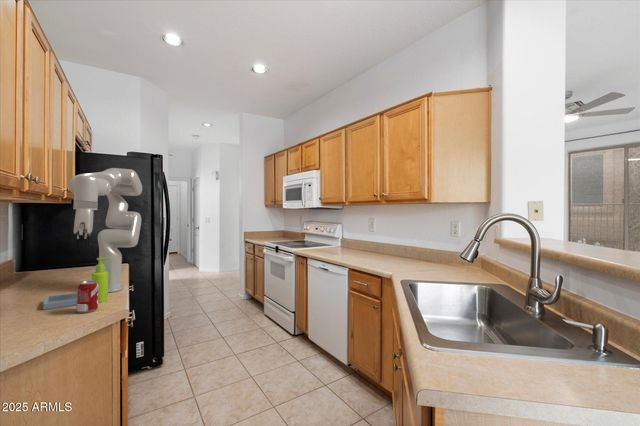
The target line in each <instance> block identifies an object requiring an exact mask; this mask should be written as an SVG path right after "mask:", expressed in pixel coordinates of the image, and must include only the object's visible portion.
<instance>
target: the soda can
mask: <svg viewBox="0 0 640 426" xmlns="http://www.w3.org/2000/svg"><path fill="white" fill-rule="evenodd" d="M76 289H77V290H76V291H77V292H76V293H77V306H76V312H77V313H80V314H89V313H92V312H95V311H96V310H97V309H99V304H98V292H99V285H98V284H97V281H95V280H92V279H91V280H84V281H80V282H79V285H78V286H77V288H76Z"/></svg>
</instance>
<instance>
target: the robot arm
mask: <svg viewBox="0 0 640 426" xmlns="http://www.w3.org/2000/svg"><path fill="white" fill-rule="evenodd" d="M67 187H68V190H69V192H70V193H71V194H73V210H75V214H74V215H75V217H74V222H73V223H74V224H73V225H74V226H73V233H74V235H77V236H76V240H75V241H76V242H75V249H76V250H87V249H88V248H90V247H91V245H92V243H91V242H92V237H91V233H92V232H93V228H94V226H93V225H94V214H95V213H94V211H98V199H99V197H101V196H107V197H106V198H107V200H108V203H109V204H108V209H107V214H106V218H105V226H106V227H108V228H105V229H103V230H100V232H99V233H98V235H97V243H98V248H99V251H98V252H99V253H98V255H99V256H98V258H102V257H108V258H112V259H111V260H110V259H103V264H104V265H105V272H108V292H107V293H113V292H119V291H122V290H124V289H125V285H123V284H122V266H123V265H122V262H123V257H122V256H123V255H122V253H121V251H120V250H119V249H118V248H133V247H136V246H137V245H138V242H139V238H140V233H141V232H140V231H141V226H142V216H141V214H140V213H139V212H137V211H128V208H129V204H128V202H127V201H126V200H125V199H124V198H123V197H122V196H131V197H134V196H135V197H137V196H140V195H141V194H142V193H143V185H142V182H141V179H140V177H139V175H138V173H137V172H136V171H135V170H134V169H131V168H129V169H127V168H120V167H110V168H107V169H105V170H103V171H98V172H90V173H89V172H87V173H80V174H77V175H74V176H73V177H71V178H70V179H69V181H68V184H67Z"/></svg>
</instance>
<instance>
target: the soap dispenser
mask: <svg viewBox="0 0 640 426" xmlns="http://www.w3.org/2000/svg"><path fill="white" fill-rule="evenodd" d="M103 259H110V260H111V259H112V258H108V257H102V258H99V257H97V258H96V261H97V260H98V264H96V265H95V272H92V273H91V280H95V281H97V284H98V285H99V292H98V305H99V304H103V303H106V302H108V293H109V292H108V272H105V265H104V264H103Z"/></svg>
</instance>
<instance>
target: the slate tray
mask: <svg viewBox="0 0 640 426" xmlns="http://www.w3.org/2000/svg"><path fill="white" fill-rule="evenodd" d="M69 307H77V292H73V293H65V294H64V293H63V294H56V295H48V296H45V298H44V301H43V309H42V311H47V310H56V309H62V308H63V309H64V308H69Z"/></svg>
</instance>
